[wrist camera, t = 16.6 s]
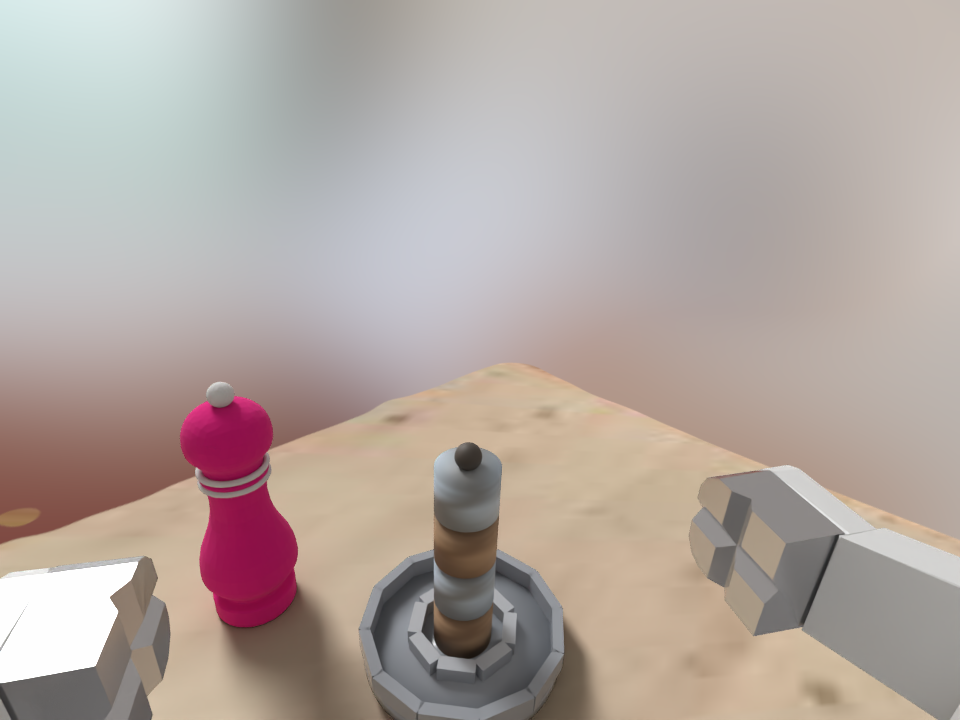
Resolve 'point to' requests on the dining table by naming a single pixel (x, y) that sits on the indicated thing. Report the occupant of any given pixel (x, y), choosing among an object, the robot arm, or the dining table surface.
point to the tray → (458, 681)
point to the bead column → (465, 548)
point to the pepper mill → (239, 509)
